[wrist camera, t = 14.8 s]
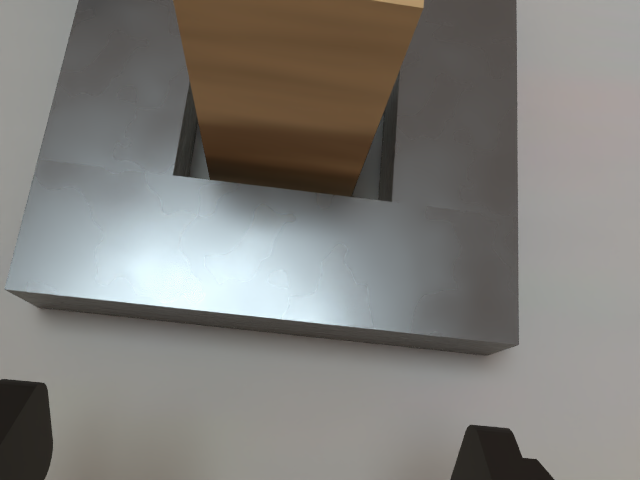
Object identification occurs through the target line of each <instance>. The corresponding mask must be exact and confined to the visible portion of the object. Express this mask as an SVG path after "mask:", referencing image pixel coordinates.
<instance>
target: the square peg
mask: <svg viewBox="0 0 640 480" xmlns="http://www.w3.org/2000/svg"><path fill="white" fill-rule="evenodd" d="M173 2H174V7H175V12H176V17H177V22H178V26H179V31H180V36H181V41H182V46H183V51H184V55H185V60H186V65H187V70H188V75H189V80H190V85H191V89H192V94H193V99H194V104H195V109H196V114H197V118H198V123H199V128H200V133H201V138H202V143H203V148H204V152H205V157H206V162H207V167H208V172H209V177H210V180H215V181H224V182H232V183H240V184H248V185H257V186H265V187H273V188H282V189H290V190H298V191H306V192H315V193H323V194H331V195H339V196H348V197H351V196H352V193H353V190H354V188H355V185H356V183H357V180H358V177H359V175H360V172H361V170H362V167H363V164H364V162H365V159H366V157H367V154H368V151H369V149H370V146H371V144H372V141H373V138H374V136H375V133H376V130H377V128H378V125H379V123H380V120H381V117H382V115H383V112H384V110H385V107H386V104H387V102H388V99H389V97H390V94H391V91H392V89H393V86H394V84H395V81H396V78H397V76H398V73H399V71H400V68H401V65H402V63H403V60H404V57H405V55H406V52H407V50H408V47H409V44H410V42H411V39H412V37H413V34H414V31H415V29H416V26H417V24H418V21H419V18H420V16H421V13H422V11H423V7H424V0H173Z"/></svg>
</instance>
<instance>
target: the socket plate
mask: <svg viewBox="0 0 640 480" xmlns="http://www.w3.org/2000/svg"><path fill="white" fill-rule="evenodd" d="M197 124H198V118H197V114H196V109H195V104H194V99H193V94H192V89H191V85H190V80H189V75H188V70H187V65H186V60H185V55H184V51H183V46H182V41H181V36H180V31H179V26H178V22H177V17H176V12H175V7H174V2H173V0H79V1H78V5H77V9H76V13H75V17H74V21H73V25H72V29H71V33H70V37H69V40H68V44H67V48H66V52H65V56H64V60H63V64H62V68H61V72H60V75H59V79H58V83H57V87H56V91H55V95H54V99H53V103H52V107H51V110H50V114H49V118H48V122H47V126H46V130H45V134H44V138H43V142H42V145H41V149H40V153H39V157H38V161H37V165H36V169H35V173H34V177H33V180H32V184H31V188H30V192H29V196H28V200H27V204H26V208H25V212H24V215H23V219H22V223H21V227H20V231H19V235H18V239H17V243H16V247H15V250H14V254H13V258H12V262H11V266H10V270H9V274H8V278H7V282H6V285H5V290H7V291H8V292H10V293H12V294H14V295H16V296H18V297H20V298H21V299H23V300H25V301H27V302H29V303H31V304H32V305H34V306H36V307H39V308H48V309H58V310H67V311H76V312H86V313H95V314H104V315H114V316H123V317H132V318H142V319H151V320H161V321H170V322H179V323H189V324H198V325H207V326H217V327H226V328H235V329H245V330H254V331H263V332H273V333H282V334H292V335H301V336H310V337H320V338H329V339H338V340H348V341H357V342H366V343H376V344H385V345H395V346H404V347H413V348H423V349H432V350H441V351H451V352H460V353H469V354H479V355H490V354H493V353H496V352H499V351H502V350H505V349H508V348H511V347H514V346H517V345H519V317H518V174H517V31H516V0H424V7H423V11H422V13H421V16H420V18H419V21H418V24H417V26H416V29H415V31H414V34H413V37H412V39H411V42H410V44H409V47H408V50H407V52H406V55H405V57H404V60H403V63H402V65H401V68H400V71H399V73H398V76H397V78H396V81H395V84H394V86H393V89H392V91H391V94H390V97H389V99H388V102H387V104H386V107H385V113H384V128H383V143H382V157H381V172H380V187H379V200H373V199H364V198H356V197H348V196H339V195H331V194H323V193H315V192H306V191H298V190H290V189H282V188H273V187H265V186H257V185H248V184H240V183H232V182H224V181H215V180H207V179H199V178H190V177H188V176H189V170H190V164H191V159H192V153H193V147H194V141H195V135H196V130H197Z"/></svg>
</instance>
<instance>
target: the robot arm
mask: <svg viewBox="0 0 640 480" xmlns="http://www.w3.org/2000/svg"><path fill="white" fill-rule="evenodd" d="M52 451H53V437H52V428H51V418H50V408H49V399H48V390H47V386H46V385H45V384H44V383H40V382H29V381H19V380H8V379H1V380H0V480H44V479H45V477H46V475H47V472H48V469H49V466H50V462H51V458H52ZM451 480H554V479H553V478H552V476H551V475H550V474H549V473H548V472H547V471H546V469H545V468H544V467H543V466H542V465H541V464H540V463H539V461H538V460H537V459H528V458H522V455H521V453H520V450H519V447H518V445H517V442H516V440H515V437H514V435H513V433H512V431H511V430H510V429H508V428H499V427H488V426H478V425H470V426H469V427H468V428H467V430H466V432H465V435H464V438H463V442H462V445H461V448H460V451H459V454H458V457H457V461H456V464H455V467H454V470H453V473H452V476H451Z"/></svg>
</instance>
